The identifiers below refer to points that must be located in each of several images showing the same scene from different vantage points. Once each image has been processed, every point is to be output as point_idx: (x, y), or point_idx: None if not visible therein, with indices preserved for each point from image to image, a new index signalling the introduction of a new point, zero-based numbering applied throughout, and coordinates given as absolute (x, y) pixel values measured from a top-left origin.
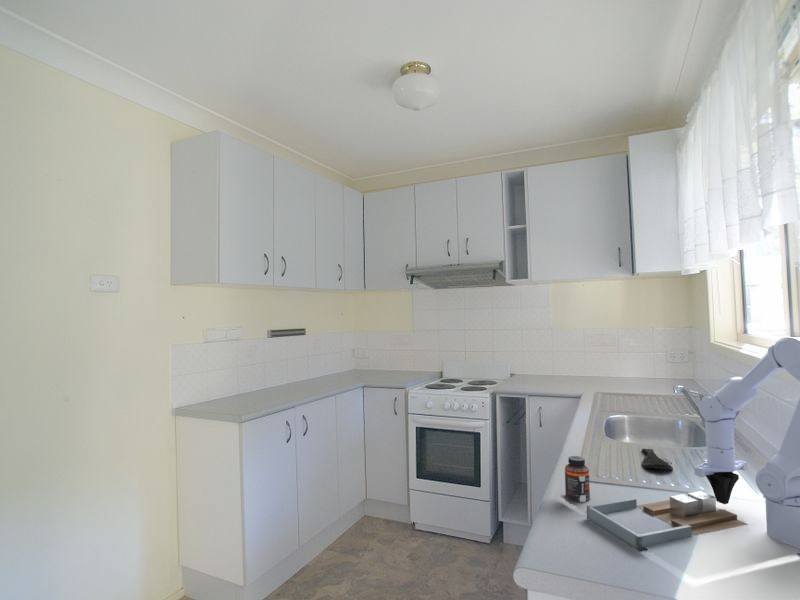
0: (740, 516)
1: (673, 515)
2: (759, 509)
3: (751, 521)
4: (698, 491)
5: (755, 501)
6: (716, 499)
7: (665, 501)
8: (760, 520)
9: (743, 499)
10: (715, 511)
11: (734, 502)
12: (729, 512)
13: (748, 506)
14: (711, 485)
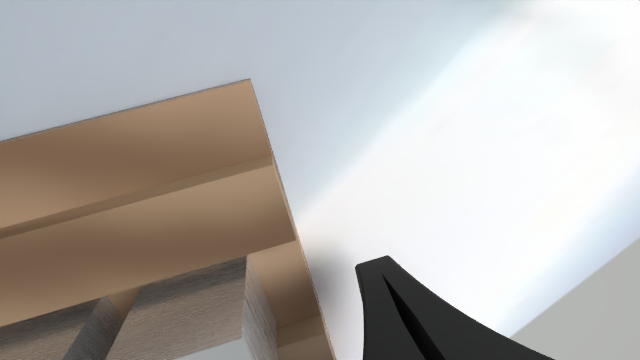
0: None
1: None
2: (549, 213)
3: None
4: (220, 346)
5: (632, 123)
6: (357, 275)
7: (26, 150)
8: None
9: (609, 91)
10: None
11: (526, 127)
12: (324, 357)
13: (539, 180)
14: (363, 355)
